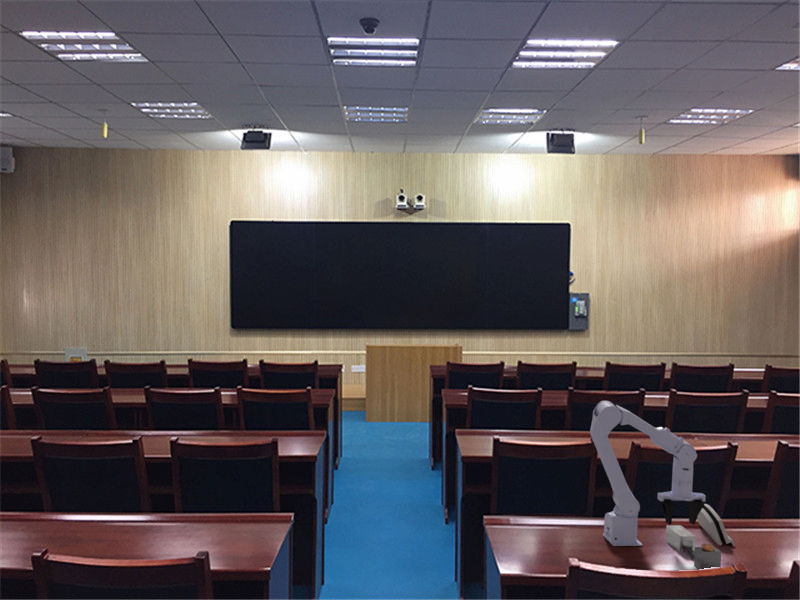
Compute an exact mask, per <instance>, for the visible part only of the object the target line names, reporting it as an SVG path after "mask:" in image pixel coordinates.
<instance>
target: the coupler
mask: <svg viewBox="0 0 800 600" xmlns="http://www.w3.org/2000/svg"><path fill="white" fill-rule="evenodd" d="M687 555H688V556H690V558H691V559H693V561H694V562H693V566H694V567H695V568H696V569H698V570H699V569H704V568H711V567H720V568H721V565H722V562H721V561H722V551H721V550H719V548H717V547H715V546H714V545H713V544H710V543H701V546H695V552H694V551H693V550H692V549H687Z"/></svg>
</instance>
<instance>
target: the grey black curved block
mask: <svg viewBox="0 0 800 600" xmlns="http://www.w3.org/2000/svg"><path fill="white" fill-rule="evenodd" d="M697 521H698V524H699V526H700V527H701V528H702V529H703V530H704V531H705V532H706V533H707V535H709V537H710V538H711V539H712V540H713V542H715V544H717V545H718V546H723V543H725V544H726V545H728V544H731V545H732V547H735V546H736V545H735V542H734V540H733V539H732V538H731V537H730V536H729V534H728V533H727V531H726V528H725V525H724V523H723V520H722V519H721V517H720V516H719V514H718V513H717V512H716V511H715V510H714V509H713V507H711V505H709V504H707V503H704V507H703V508H702V510H701V511H700V513H699V514H698V517H697Z"/></svg>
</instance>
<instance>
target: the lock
mask: <svg viewBox="0 0 800 600" xmlns="http://www.w3.org/2000/svg"><path fill="white" fill-rule="evenodd" d="M665 528H666V529H665V542H667V544H668V545H670V546H672V548H673V549H675V550H676V551H678V553H683V552H684V551H683V550H684V547H685V548H686V549H687V550H688V549H692V550H693V551H694V552H695V547H696V535H694V533H691V531H689V530H688V529H686V528H685V527H684V526H682V525H679V524H678V525H675V524H674V525H672V524H671V525H669V524H668V525H666V527H665Z"/></svg>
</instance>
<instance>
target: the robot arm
mask: <svg viewBox="0 0 800 600" xmlns="http://www.w3.org/2000/svg"><path fill="white" fill-rule="evenodd" d="M618 424H620V426H625V425H629V426H631V427H633V428H635V429H636V430H638V431H640V432H642V433H644V434H645V435H647V436H649V438H650V442H651V443H652V444H654V445H655V446H657V447H659V448H660V449H662V450H664V451H665V452H667V453H669V454H672V455H673V460H672V461H673V462H672V476H671V491H663V492H657V500H658V502H659V504H660V506H661V508H662V512H663V514H664V521H665V523H667V524H668V525H672V522H673V513H674V509H675V504H674V503H673V501H683V502H684V501H685V502H688V522H689V524H691V525H693V526H694V525H695V524H696V521H697V520H698V518H697V517H698V514H699V513H700V511H701V510H702V508H703V507H704V504H705V503H704V502H706V499H707V498H706V497H707V496H706V495H705V493H703V492H702V493H701V492H693V481H694V479H693V478H694V462H695V461H696V460H697V458H698V454H697V450H696V449H695V447H694V446H693V445H692V444H690V443H689V442H688V441H686V440H685V438H683V437H682V436H679V437H678V435H676V434H674V433H672V432H671V430H670V429H669V428H668V427H663V426H658V427H655V426H653V425H652V424H649V423H648V422H647V421H645V420H644V419H642V418H640V417H639V416H638V415H636V414H634V413H633V412H631V411H630V410H628V409H626V408H624V407H622V406H620V405H618V404H614V403H613V402H612V401H609V400H601V401H600V402H598V403H597V404H596V406H595V407H594V409H593V411H592V420H591V426H590V430H589V434H590V436H591V439H592V442H593V443H594V446H595V448H596V452H597V454H598V456H599V458H600V460H601V464H602V466H603V468H604V471H605V473H606V476H607V478H608V480H609V483H610V486H611V488H612V499H613V502H614V504H615V505H614V508H613V510H612V511H610V512H606V513H605V514H604V519H603V520H604V521H603V522H604V523H603V534H602V536H603V537H604V539H606V540H607V541H608V542H609V543H610V545H611V546H614V547H627V546H628V547H630V546H631V547H641V546H643V543H642V542H641V541H640V540H638V520H639V519H638V518H639V512H640V510H641V504H640V502H639V500H637V499H636V497H635V496H634V495H633V492H632V490H631V489H630V487H629V485H628V483H627V481H626V479H625V476H624V473H623V471H622V468H621V467H620V466H621V465H620V464H619V461H618V459H617V457H616V454H615V451H614V450H613V447H612V444H611V441H610V439H609V437H608V436H609V434H610V433H611V431H612V430H613V429H614V428H615V427H616V426H618Z"/></svg>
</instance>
